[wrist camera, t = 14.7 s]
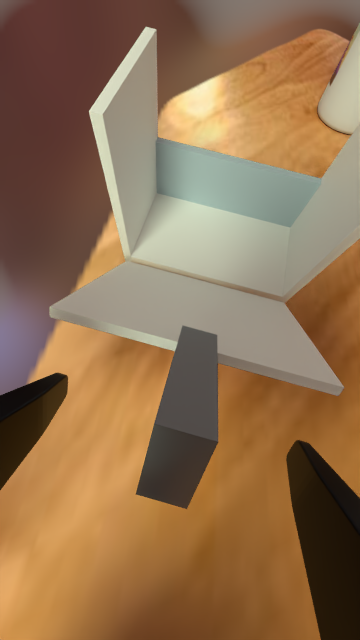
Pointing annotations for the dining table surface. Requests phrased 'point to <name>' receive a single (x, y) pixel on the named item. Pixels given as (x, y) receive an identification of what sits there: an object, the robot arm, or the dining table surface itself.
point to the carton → (216, 197)
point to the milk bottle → (343, 91)
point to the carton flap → (194, 358)
